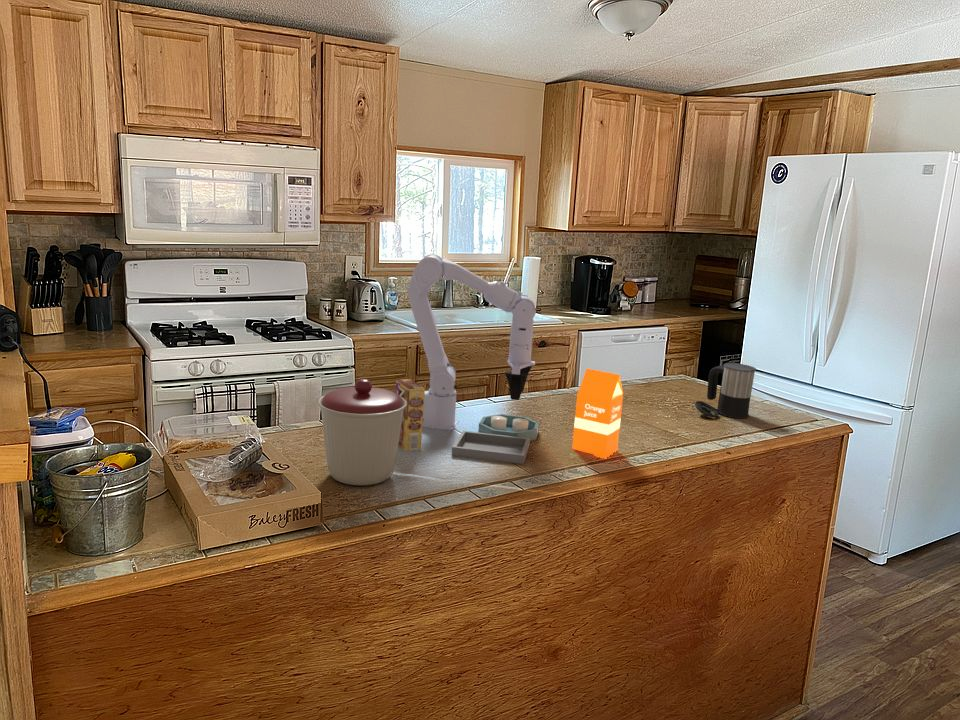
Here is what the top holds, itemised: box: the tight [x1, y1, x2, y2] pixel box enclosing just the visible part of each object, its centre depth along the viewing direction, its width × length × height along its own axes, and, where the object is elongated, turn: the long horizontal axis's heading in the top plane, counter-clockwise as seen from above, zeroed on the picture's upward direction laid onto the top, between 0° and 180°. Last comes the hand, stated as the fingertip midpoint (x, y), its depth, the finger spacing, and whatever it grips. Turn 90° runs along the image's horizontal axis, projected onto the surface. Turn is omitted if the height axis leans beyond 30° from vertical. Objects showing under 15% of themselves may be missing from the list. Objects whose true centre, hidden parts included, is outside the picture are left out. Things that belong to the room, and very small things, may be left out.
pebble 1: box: [491, 416, 507, 431], centre depth 187 cm, size 4×4×4 cm
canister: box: [317, 378, 407, 486], centre depth 152 cm, size 18×18×21 cm
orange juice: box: [571, 368, 624, 460], centre depth 177 cm, size 8×9×20 cm
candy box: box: [395, 378, 426, 451], centre depth 173 cm, size 9×4×15 cm, turn 26°
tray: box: [451, 430, 531, 465], centre depth 173 cm, size 17×13×2 cm
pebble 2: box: [512, 418, 529, 432], centre depth 186 cm, size 4×4×4 cm
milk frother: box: [694, 362, 757, 419], centre depth 216 cm, size 14×16×15 cm
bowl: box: [477, 413, 540, 442], centre depth 187 cm, size 15×15×3 cm
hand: (516, 395), depth 189 cm, fingers open, 7 cm apart
